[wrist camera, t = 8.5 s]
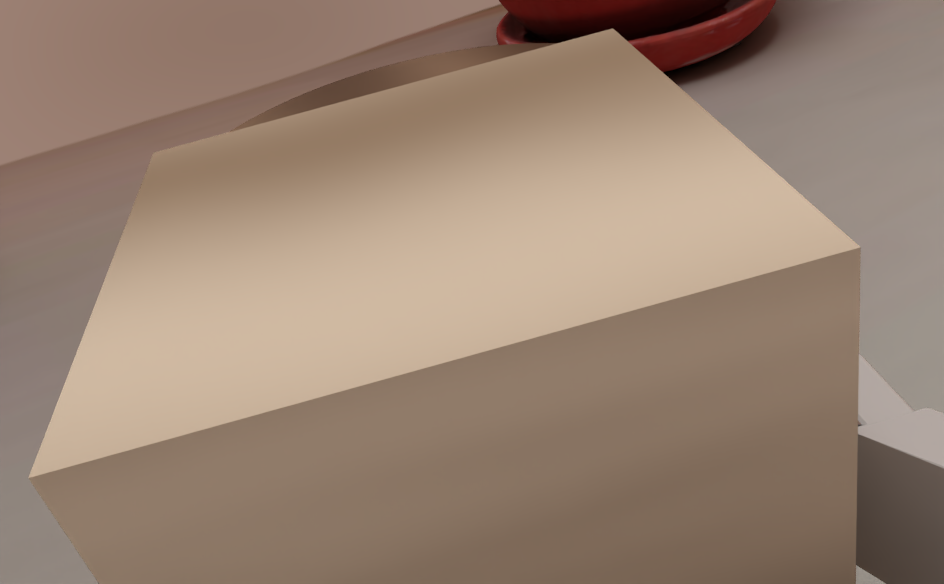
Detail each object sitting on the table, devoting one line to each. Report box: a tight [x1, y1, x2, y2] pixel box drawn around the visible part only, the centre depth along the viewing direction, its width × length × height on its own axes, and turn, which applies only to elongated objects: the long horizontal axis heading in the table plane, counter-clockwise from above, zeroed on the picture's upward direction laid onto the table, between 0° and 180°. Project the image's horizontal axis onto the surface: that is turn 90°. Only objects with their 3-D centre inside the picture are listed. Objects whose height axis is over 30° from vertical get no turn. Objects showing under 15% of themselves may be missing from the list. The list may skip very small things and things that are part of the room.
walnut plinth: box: [230, 43, 557, 132], centre depth 23 cm, size 13×13×5 cm
